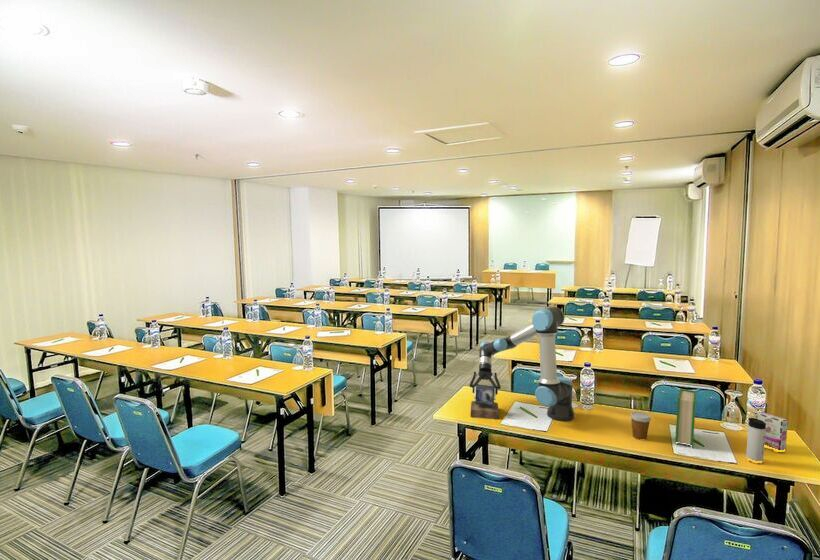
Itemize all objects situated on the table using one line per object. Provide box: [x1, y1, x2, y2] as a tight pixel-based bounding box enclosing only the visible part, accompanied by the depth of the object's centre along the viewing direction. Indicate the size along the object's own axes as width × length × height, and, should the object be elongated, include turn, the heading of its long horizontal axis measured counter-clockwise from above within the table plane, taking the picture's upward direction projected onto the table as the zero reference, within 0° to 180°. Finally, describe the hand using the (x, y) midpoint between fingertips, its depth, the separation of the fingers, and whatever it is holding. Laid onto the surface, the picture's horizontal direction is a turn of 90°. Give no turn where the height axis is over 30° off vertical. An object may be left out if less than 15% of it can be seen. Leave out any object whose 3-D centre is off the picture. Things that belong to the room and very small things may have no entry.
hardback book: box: [674, 388, 697, 447], centre depth 220 cm, size 18×7×24 cm, turn 145°
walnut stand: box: [470, 400, 500, 420], centre depth 254 cm, size 16×16×4 cm
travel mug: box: [745, 417, 766, 462], centre depth 198 cm, size 6×7×20 cm
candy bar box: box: [756, 411, 789, 450], centre depth 212 cm, size 11×5×16 cm, turn 21°
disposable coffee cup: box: [629, 411, 652, 440], centre depth 223 cm, size 10×10×12 cm
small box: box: [474, 383, 495, 406], centre depth 253 cm, size 11×6×10 cm, turn 73°
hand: (484, 398), depth 251 cm, fingers closed on small box, 11 cm apart
